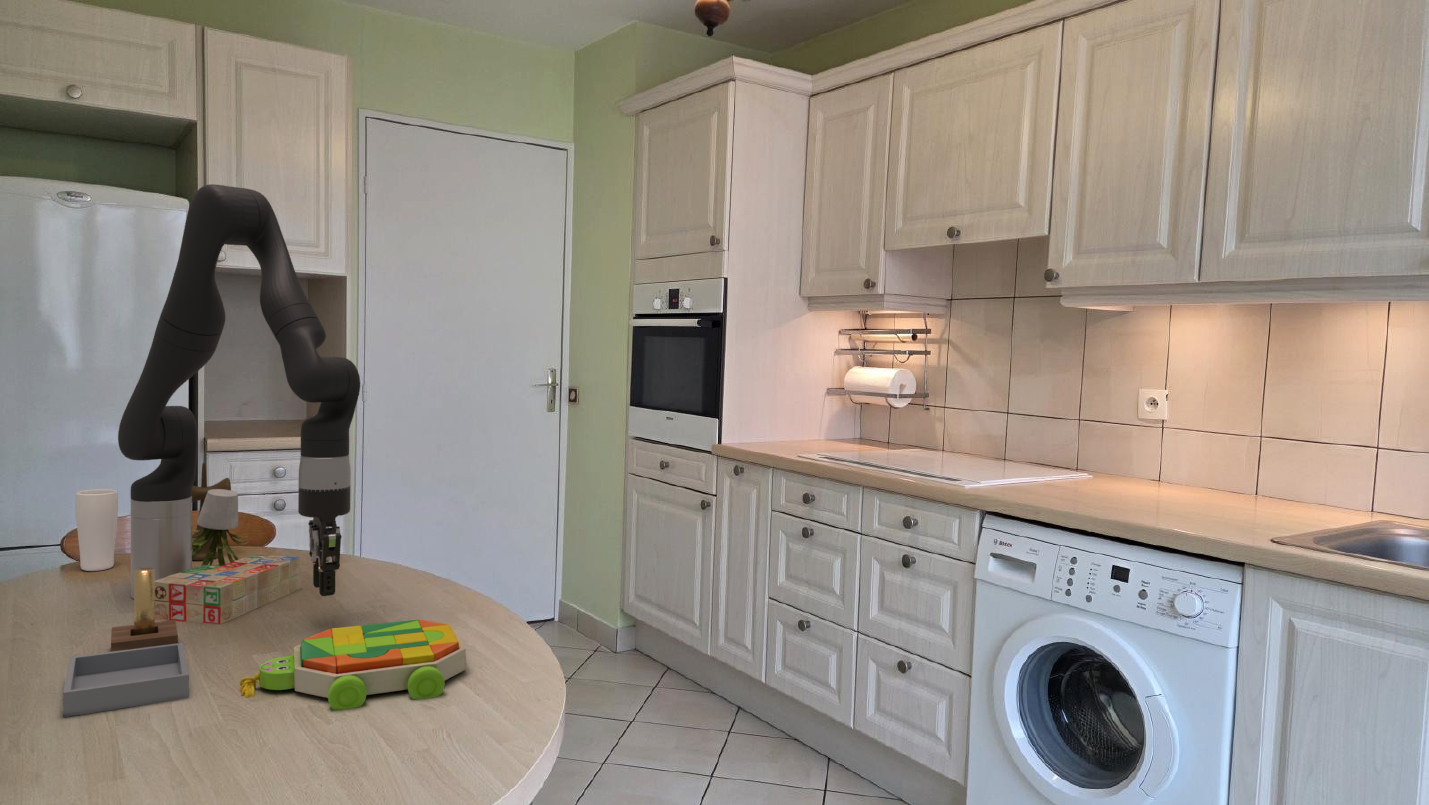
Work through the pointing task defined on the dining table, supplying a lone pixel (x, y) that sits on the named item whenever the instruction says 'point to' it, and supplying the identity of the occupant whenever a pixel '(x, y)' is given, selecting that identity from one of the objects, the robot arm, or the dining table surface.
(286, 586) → the stack of blocks
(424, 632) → the wooden turtle toy
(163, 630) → the pin base
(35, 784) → the dining table surface
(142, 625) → the pin
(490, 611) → the dining table surface
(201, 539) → the house plant
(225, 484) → the kendama
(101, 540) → the drinking glass
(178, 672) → the pin tray
